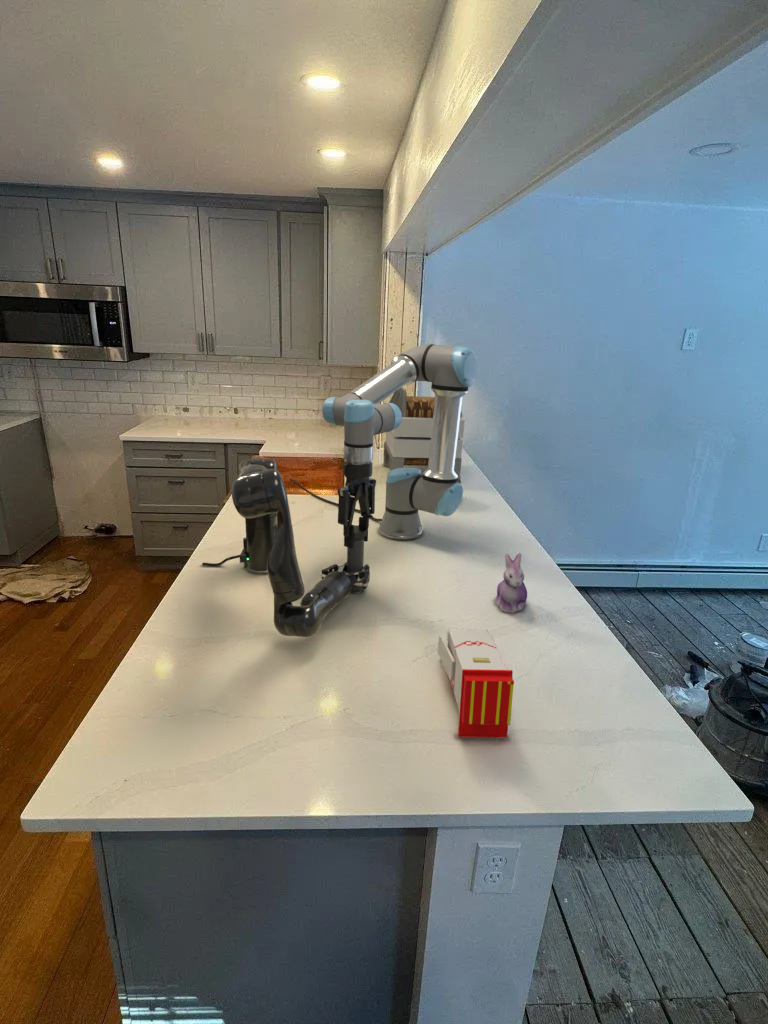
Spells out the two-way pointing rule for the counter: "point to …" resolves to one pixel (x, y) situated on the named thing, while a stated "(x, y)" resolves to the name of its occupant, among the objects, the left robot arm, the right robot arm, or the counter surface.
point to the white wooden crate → (415, 433)
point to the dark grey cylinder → (356, 559)
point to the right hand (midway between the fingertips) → (356, 543)
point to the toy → (478, 682)
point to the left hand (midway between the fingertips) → (358, 565)
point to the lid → (359, 531)
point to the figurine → (512, 586)
